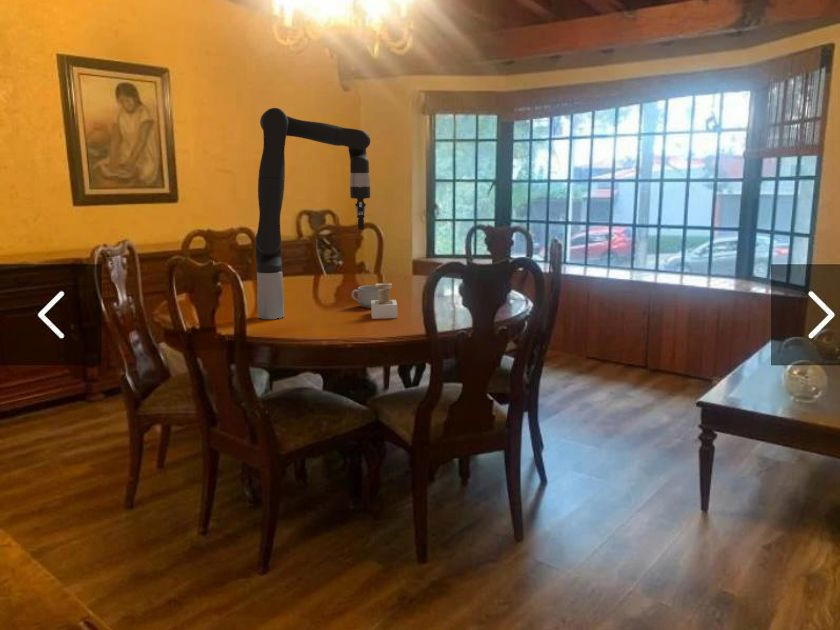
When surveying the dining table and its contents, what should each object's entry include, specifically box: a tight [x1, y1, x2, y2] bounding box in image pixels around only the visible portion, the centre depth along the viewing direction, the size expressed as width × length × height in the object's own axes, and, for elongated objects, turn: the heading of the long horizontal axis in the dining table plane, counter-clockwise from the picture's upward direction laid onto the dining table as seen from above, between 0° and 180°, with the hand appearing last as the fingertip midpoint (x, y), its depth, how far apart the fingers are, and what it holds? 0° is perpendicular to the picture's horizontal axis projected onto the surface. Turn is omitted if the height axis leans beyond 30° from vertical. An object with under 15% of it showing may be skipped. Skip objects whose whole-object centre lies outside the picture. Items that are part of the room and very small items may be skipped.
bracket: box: [375, 282, 393, 304], centre depth 253 cm, size 6×4×12 cm, turn 94°
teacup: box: [350, 285, 379, 309], centre depth 271 cm, size 14×11×8 cm
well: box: [370, 299, 399, 320], centre depth 253 cm, size 10×11×5 cm
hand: (361, 228), depth 256 cm, fingers open, 8 cm apart
